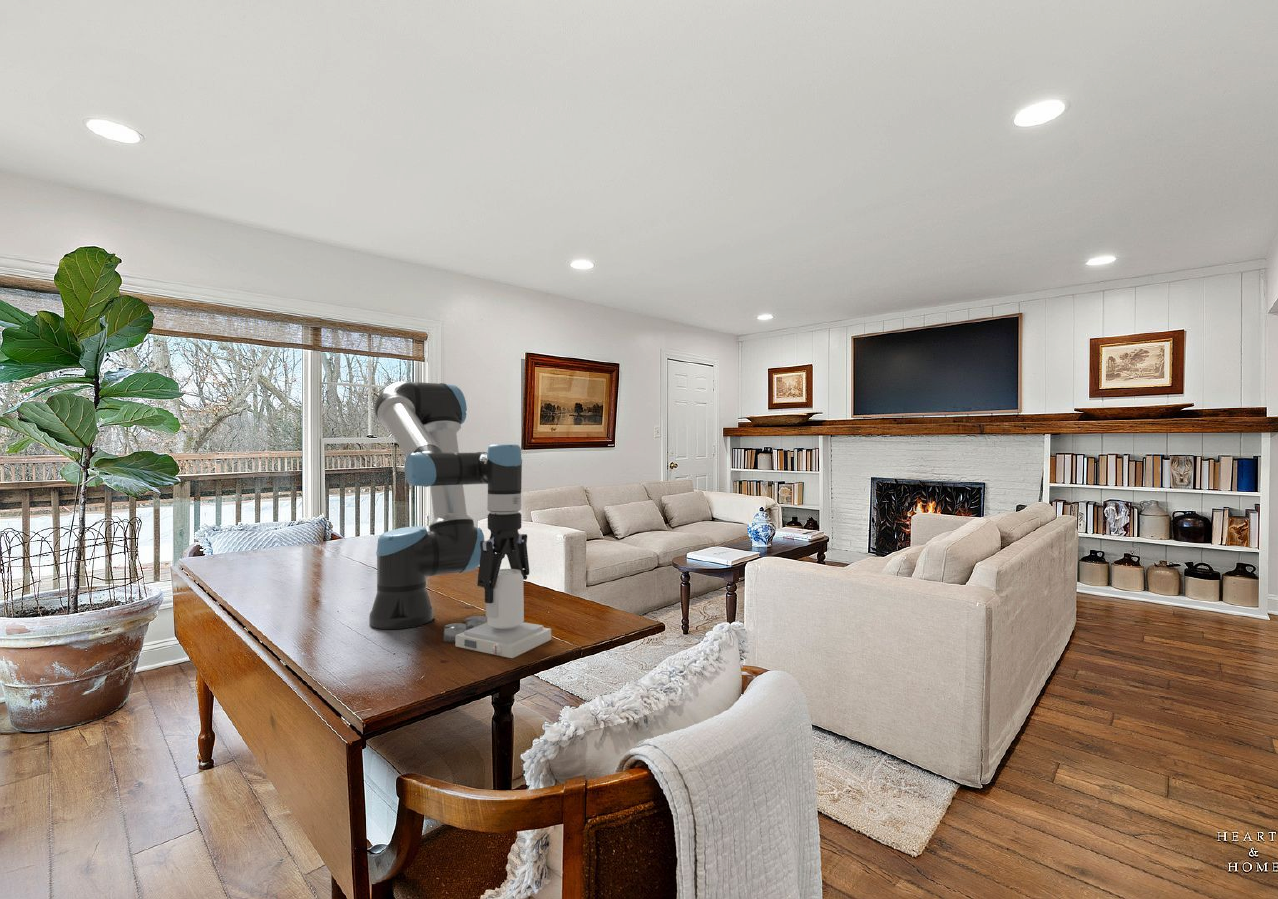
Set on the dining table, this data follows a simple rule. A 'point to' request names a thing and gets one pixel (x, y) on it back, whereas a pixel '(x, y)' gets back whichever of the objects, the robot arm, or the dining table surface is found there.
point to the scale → (503, 639)
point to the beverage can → (509, 599)
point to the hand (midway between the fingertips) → (504, 612)
